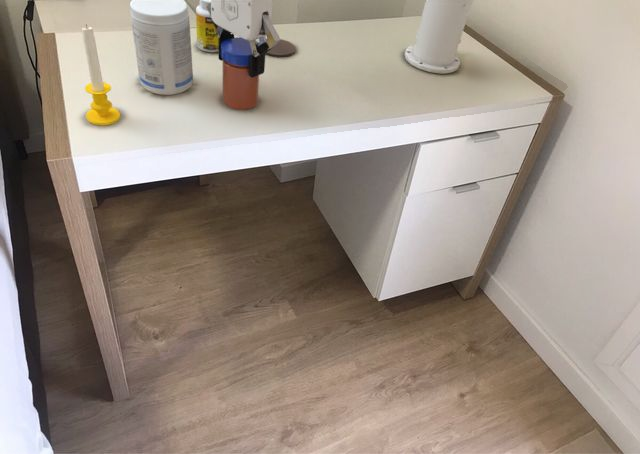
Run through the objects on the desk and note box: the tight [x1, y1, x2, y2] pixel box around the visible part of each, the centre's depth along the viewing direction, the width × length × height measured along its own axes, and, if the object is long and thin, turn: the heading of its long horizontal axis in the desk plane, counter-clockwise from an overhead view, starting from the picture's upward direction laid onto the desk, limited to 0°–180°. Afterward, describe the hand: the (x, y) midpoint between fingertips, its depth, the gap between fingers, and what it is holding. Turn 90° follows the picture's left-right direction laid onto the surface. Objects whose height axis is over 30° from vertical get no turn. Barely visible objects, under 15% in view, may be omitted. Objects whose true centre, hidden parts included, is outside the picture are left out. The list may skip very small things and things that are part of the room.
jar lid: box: [221, 37, 260, 66], centre depth 88 cm, size 7×7×2 cm
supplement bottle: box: [195, 0, 219, 53], centre depth 105 cm, size 6×6×10 cm
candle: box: [81, 24, 121, 126], centre depth 80 cm, size 5×5×16 cm
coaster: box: [258, 38, 296, 58], centre depth 112 cm, size 8×8×1 cm
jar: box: [222, 60, 260, 111], centre depth 91 cm, size 6×6×10 cm
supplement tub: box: [129, 0, 194, 96], centre depth 90 cm, size 10×10×15 cm
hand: (241, 65), depth 90 cm, fingers closed on jar lid, 6 cm apart
